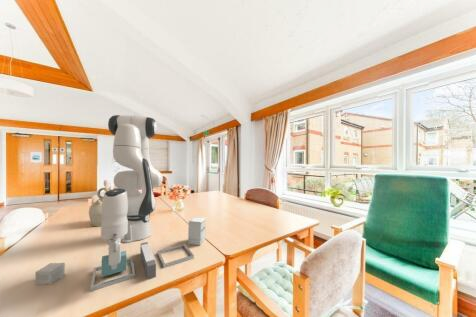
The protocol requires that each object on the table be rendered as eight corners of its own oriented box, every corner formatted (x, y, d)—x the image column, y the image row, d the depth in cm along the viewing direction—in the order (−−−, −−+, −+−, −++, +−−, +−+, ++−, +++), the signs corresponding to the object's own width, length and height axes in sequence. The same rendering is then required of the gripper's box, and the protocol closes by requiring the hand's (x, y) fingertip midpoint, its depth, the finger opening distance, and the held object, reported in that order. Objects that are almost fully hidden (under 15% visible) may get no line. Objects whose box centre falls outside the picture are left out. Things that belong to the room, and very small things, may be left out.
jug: (102, 219, 133) (103, 185, 133) (121, 220, 131) (121, 186, 131) (82, 226, 118) (82, 189, 118) (102, 228, 116) (103, 190, 116)
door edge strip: (156, 276, 70) (156, 262, 70) (147, 279, 68) (147, 265, 68) (147, 251, 88) (147, 241, 88) (140, 253, 86) (140, 242, 86)
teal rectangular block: (101, 277, 67) (101, 261, 67) (101, 271, 70) (102, 256, 70) (126, 269, 72) (126, 254, 72) (125, 264, 75) (125, 250, 75)
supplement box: (200, 245, 95) (200, 222, 95) (187, 244, 97) (188, 221, 97) (205, 239, 102) (206, 217, 102) (193, 238, 104) (194, 216, 104)
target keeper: (135, 277, 70) (135, 273, 70) (90, 291, 62) (90, 288, 62) (132, 260, 81) (132, 257, 81) (93, 270, 73) (93, 267, 73)
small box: (50, 275, 70) (50, 262, 70) (65, 274, 70) (65, 262, 70) (34, 285, 64) (34, 271, 64) (50, 285, 65) (51, 271, 65)
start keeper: (194, 258, 83) (194, 255, 83) (163, 267, 76) (163, 265, 76) (184, 246, 94) (184, 243, 94) (157, 253, 87) (157, 251, 87)
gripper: (125, 238, 64) (124, 276, 64) (123, 221, 81) (122, 251, 81) (103, 242, 61) (103, 282, 61) (105, 224, 78) (105, 255, 78)
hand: (114, 264), depth 71 cm, fingers closed on teal rectangular block, 4 cm apart
